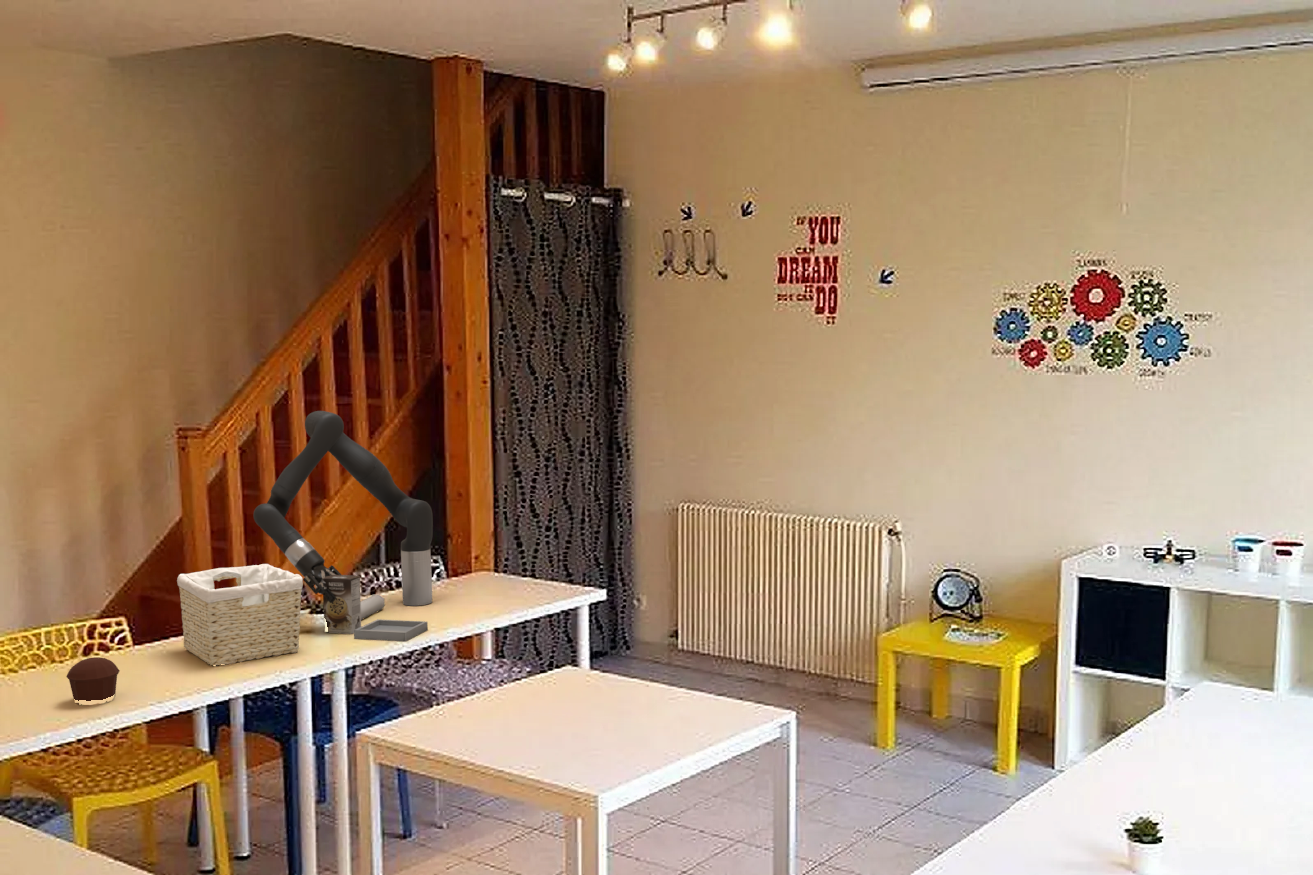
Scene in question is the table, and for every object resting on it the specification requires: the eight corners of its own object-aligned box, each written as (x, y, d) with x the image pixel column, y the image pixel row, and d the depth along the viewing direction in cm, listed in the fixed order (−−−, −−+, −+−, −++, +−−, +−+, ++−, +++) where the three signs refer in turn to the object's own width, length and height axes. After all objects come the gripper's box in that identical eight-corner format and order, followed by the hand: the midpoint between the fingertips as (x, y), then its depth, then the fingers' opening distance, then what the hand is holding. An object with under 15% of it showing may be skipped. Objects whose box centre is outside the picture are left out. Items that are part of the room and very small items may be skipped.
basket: (309, 653, 356) (305, 574, 354) (210, 670, 340) (206, 587, 338) (272, 635, 378) (269, 561, 376) (177, 651, 362) (173, 573, 360)
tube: (351, 615, 384) (386, 597, 408) (335, 609, 385) (371, 591, 409) (346, 632, 385) (382, 613, 409) (330, 626, 386) (367, 607, 410)
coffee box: (323, 633, 379) (321, 578, 377) (333, 628, 385) (331, 573, 384) (352, 634, 377) (350, 578, 375) (362, 629, 383) (360, 574, 382)
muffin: (109, 691, 322) (107, 650, 321) (129, 699, 314) (127, 658, 313) (59, 701, 313) (57, 660, 312) (79, 710, 305) (76, 668, 305)
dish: (377, 627, 384) (377, 619, 384) (427, 630, 380) (427, 621, 380) (354, 638, 371) (353, 630, 371) (405, 641, 367) (405, 632, 366)
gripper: (299, 552, 375) (336, 594, 372) (325, 544, 388) (361, 584, 386) (283, 570, 376) (320, 611, 374) (309, 561, 390) (345, 601, 388)
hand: (341, 597), depth 380 cm, fingers open, 8 cm apart
